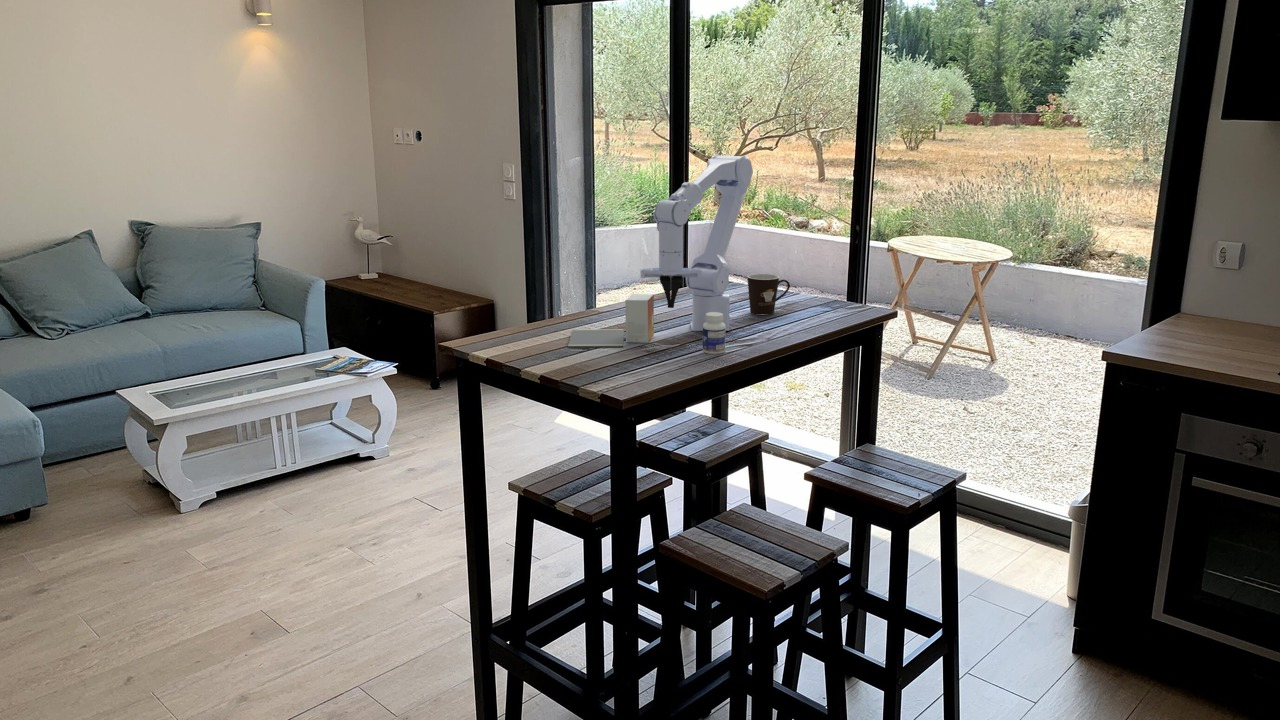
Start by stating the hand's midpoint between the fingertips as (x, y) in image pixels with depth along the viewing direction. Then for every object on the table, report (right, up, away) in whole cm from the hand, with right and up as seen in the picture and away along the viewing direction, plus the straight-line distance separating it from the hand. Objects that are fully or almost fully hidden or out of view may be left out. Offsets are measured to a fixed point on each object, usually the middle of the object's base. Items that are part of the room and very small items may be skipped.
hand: (670, 307), depth 223 cm
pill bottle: (+10, -11, -9) cm, 17 cm away
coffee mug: (+27, 0, +29) cm, 40 cm away
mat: (-18, -8, +2) cm, 20 cm away
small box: (-7, -8, +2) cm, 11 cm away
